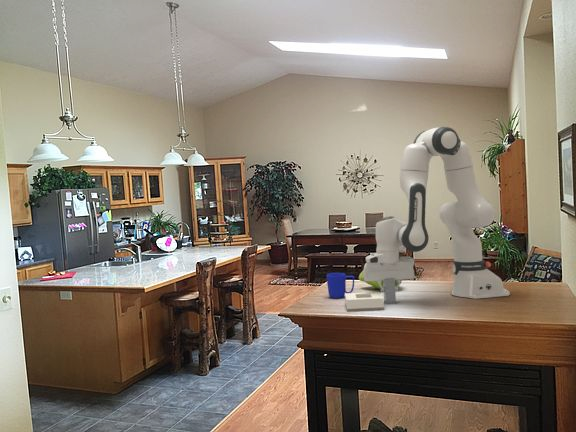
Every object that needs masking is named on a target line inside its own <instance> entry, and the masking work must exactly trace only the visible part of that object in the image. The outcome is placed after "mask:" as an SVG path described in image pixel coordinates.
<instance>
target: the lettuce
mask: <svg viewBox="0 0 576 432" xmlns="http://www.w3.org/2000/svg"><path fill="white" fill-rule="evenodd" d="M363 272H364V269H363V270H362V271H361V272H360V273H359V276H358V280H359V281H360V282H363V283H366V284H368V285H370V286H371V287H374V288H376V289H379V290H381V288H380V286H379V284H378V282H377V281H365V280H364V277H363ZM402 282H403V280H401V283H400V285H401V284H402ZM397 283H398V282H397V281H396V280H395V286H396V285H397ZM380 284H381V286H382V287H384V286H383V281H381V283H380Z"/></svg>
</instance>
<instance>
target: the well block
mask: <svg viewBox="0 0 576 432" xmlns="http://www.w3.org/2000/svg"><path fill="white" fill-rule="evenodd" d="M381 293H382V292H381V291H370V292H369V291H368V292H351V293H345V295H344V298H345V299H344V301H345V303H344V304H345V307H346V311H347V312H348V313H349V312H365V311H368V312H369V311H385V305H384V304H385V302H384V296H383V295H382V294H381Z"/></svg>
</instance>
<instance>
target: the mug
mask: <svg viewBox="0 0 576 432" xmlns="http://www.w3.org/2000/svg"><path fill="white" fill-rule="evenodd" d="M325 276H326V282H327V283H326V285H327V289H328V290H327V291H328V296H329V298H332V299H341V298H345V293H353V291H354V288H355V275H346V274H345V273H344V272H331V273H328V274H326V275H325ZM347 278H351V279H352V285H351V286H352V287H351V290H350V291H347V290H346V289H347V288H346V284H347V283H346V282H347Z"/></svg>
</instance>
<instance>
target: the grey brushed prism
mask: <svg viewBox="0 0 576 432" xmlns="http://www.w3.org/2000/svg"><path fill="white" fill-rule="evenodd" d="M383 286H384V287H385V289H384V290H385V291H384V292H383V299H384V304H386V305H393V304H394V305H395V304H397V300H396V299H397V298H396V291H395V278H394V279H384V281H383Z"/></svg>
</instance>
